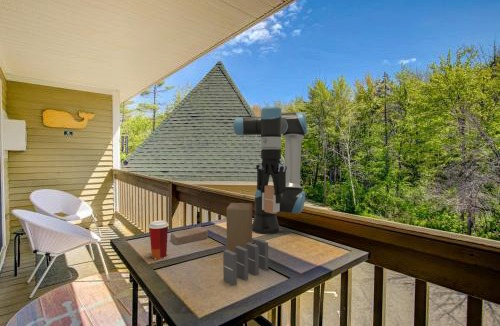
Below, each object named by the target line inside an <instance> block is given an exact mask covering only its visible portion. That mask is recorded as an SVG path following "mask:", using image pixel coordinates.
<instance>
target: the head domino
mask: <svg viewBox="0 0 500 326" xmlns="http://www.w3.org/2000/svg"><path fill="white" fill-rule="evenodd" d="M274 193H275V190H274V185H269V184H268V185H266V186H265V210H264V212H268V213H272V214H276V215H277V214H278V212H273V195H274Z"/></svg>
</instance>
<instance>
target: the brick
mask: <svg viewBox="0 0 500 326" xmlns="http://www.w3.org/2000/svg"><path fill="white" fill-rule="evenodd" d="M169 237H170V238H169V239H170V242H171V243H173V244H174V246H179V245H183V244H190V243H193V242H198V241H202V240H205V239H207V238H208V237H209V230H208V229H207V228H204V227H203V226H197V227H192V228H189V229H182V230H177V231H173V232H171V234H170V236H169Z"/></svg>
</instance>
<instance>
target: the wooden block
mask: <svg viewBox="0 0 500 326" xmlns="http://www.w3.org/2000/svg"><path fill="white" fill-rule="evenodd" d="M252 224H253V203H249V202H248V203H247V202H246V203H245V202H230V203H229V205H228V206H227V207H226V250H230V251H232V252H234V253H235V247H236V246H240V247H243V248H245V249H246V243H248V242H249V243H252V244H253V231H252Z"/></svg>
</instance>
